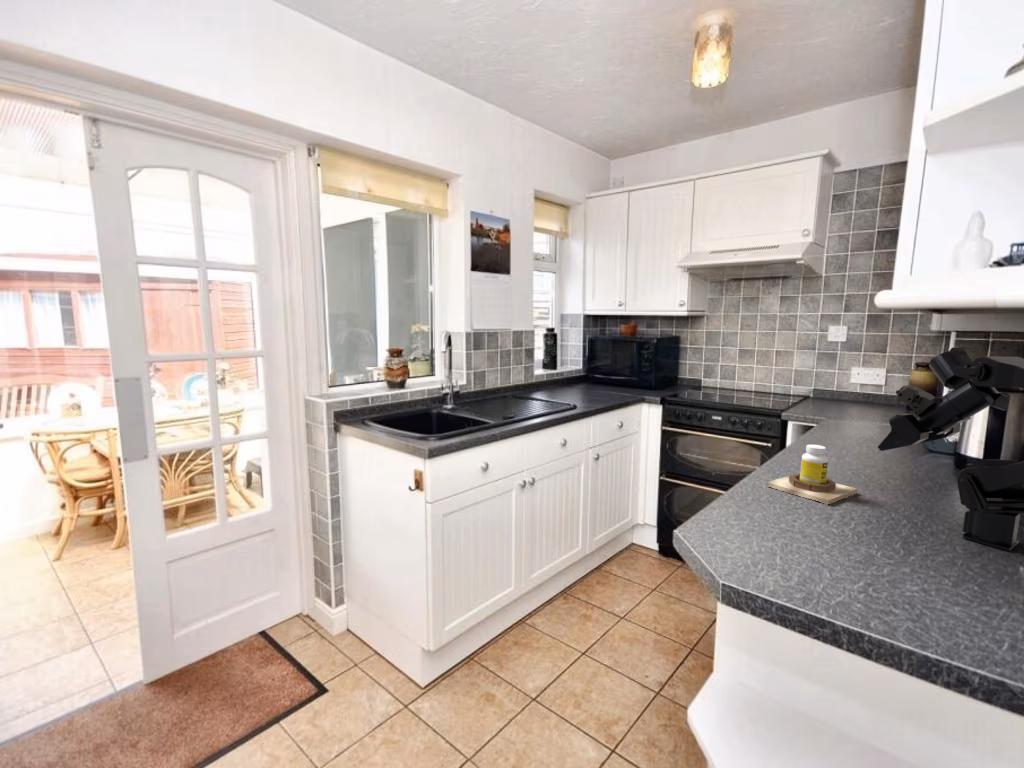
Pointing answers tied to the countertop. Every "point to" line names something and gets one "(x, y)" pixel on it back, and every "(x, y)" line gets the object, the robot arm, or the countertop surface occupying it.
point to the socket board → (813, 495)
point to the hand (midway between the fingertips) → (890, 446)
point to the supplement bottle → (814, 465)
